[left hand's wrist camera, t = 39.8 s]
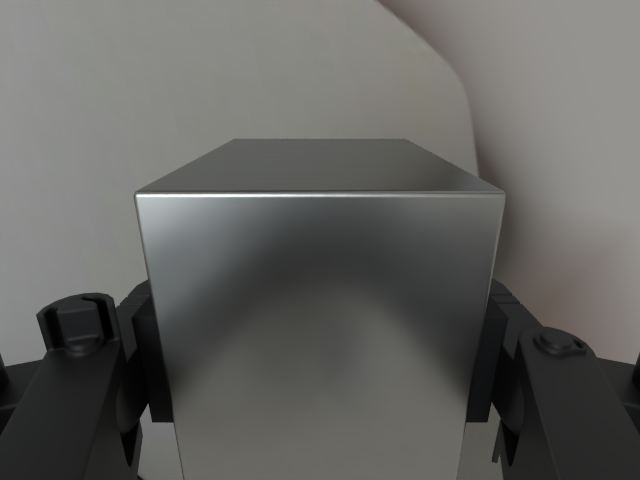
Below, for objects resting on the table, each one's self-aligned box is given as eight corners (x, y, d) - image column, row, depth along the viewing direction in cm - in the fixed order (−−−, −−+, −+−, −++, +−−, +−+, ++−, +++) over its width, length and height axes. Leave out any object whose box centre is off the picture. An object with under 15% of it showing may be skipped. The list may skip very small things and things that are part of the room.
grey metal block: (407, 138, 13) (509, 192, 6) (392, 332, 16) (449, 524, 9) (232, 138, 13) (129, 191, 6) (247, 332, 16) (189, 524, 9)
